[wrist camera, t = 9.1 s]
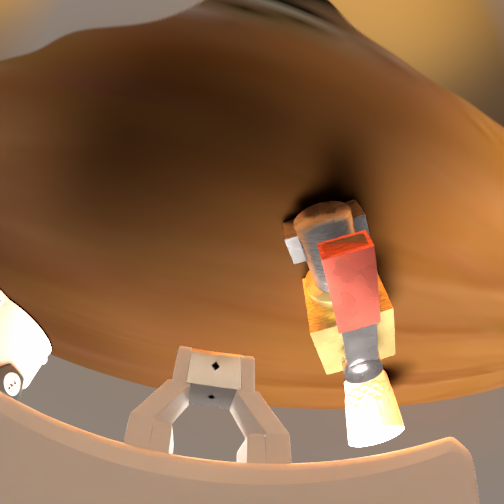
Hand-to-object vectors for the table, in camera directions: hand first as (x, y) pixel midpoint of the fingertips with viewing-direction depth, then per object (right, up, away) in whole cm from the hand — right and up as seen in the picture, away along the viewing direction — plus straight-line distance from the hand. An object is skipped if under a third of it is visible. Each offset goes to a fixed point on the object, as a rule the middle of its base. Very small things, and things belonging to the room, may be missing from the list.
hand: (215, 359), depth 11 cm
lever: (+9, 0, +8) cm, 11 cm away
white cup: (+18, -15, +27) cm, 36 cm away
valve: (+11, 0, +17) cm, 20 cm away
